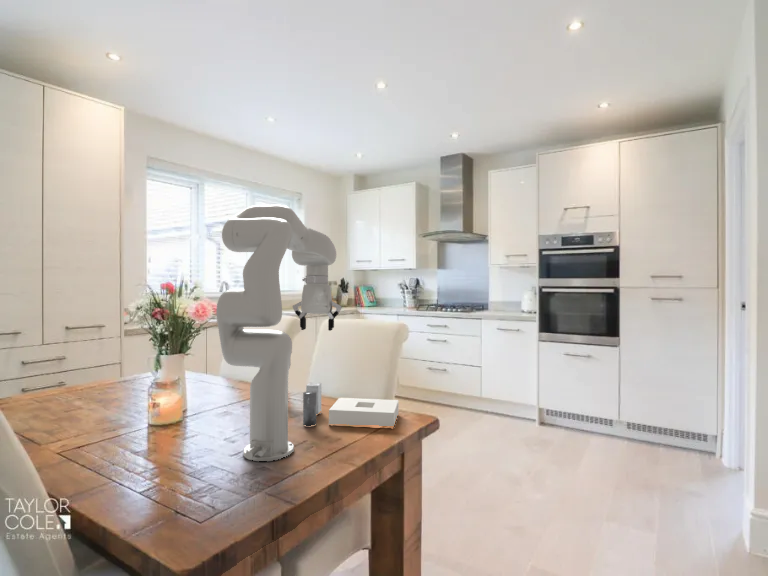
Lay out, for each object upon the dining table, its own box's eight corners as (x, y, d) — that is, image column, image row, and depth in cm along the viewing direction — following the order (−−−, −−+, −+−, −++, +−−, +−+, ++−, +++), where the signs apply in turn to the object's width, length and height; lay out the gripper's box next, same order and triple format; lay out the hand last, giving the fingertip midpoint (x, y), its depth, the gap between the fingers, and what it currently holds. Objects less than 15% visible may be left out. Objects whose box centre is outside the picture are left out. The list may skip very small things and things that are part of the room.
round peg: (314, 427, 131) (314, 394, 131) (301, 427, 131) (301, 394, 131) (317, 423, 135) (318, 391, 135) (305, 422, 135) (305, 390, 135)
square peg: (317, 416, 142) (318, 385, 142) (306, 415, 142) (306, 385, 142) (321, 412, 146) (321, 382, 146) (309, 411, 146) (309, 382, 146)
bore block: (393, 429, 130) (393, 412, 130) (328, 426, 132) (328, 409, 132) (398, 415, 143) (398, 400, 143) (339, 412, 146) (339, 397, 146)
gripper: (289, 280, 148) (289, 330, 148) (339, 281, 146) (338, 331, 146) (296, 280, 156) (296, 328, 156) (343, 281, 153) (343, 329, 154)
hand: (316, 329), depth 151 cm, fingers open, 9 cm apart
